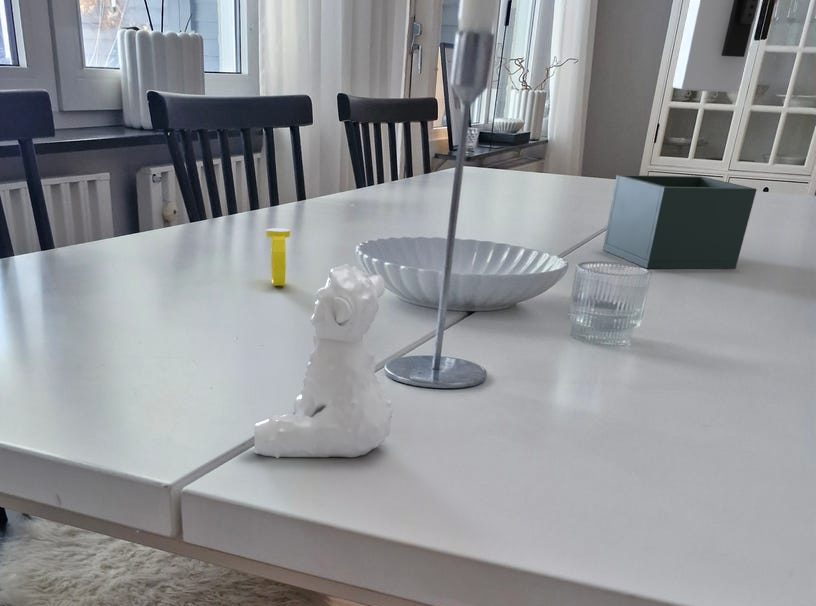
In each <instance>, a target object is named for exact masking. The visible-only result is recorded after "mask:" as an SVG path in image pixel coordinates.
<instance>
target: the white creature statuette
mask: <svg viewBox="0 0 816 606" xmlns="http://www.w3.org/2000/svg"><path fill="white" fill-rule="evenodd" d="M327 276H328V278H327V281H326V284H325V286H324V287H321V288H319V289H317V291H316V292H315V294H316V297H317V301H315V303H314V305H315V307H314V308H313V314H312V315H311V317H310V322H311V325H312V326H313V327H314V332H315V335H314V336H313V338H312V341H313V345H314V346H313V347H314V350H313V351H312V352H311V353H310V356H309V359H308V363H307V365H306V370H305V373H304V375H305V378H304V379H303V383H302V384H303V385H302V389H301V390H300V395H299V396H297V397H296V398H295V401H294V403H293V411H294V413H291V412H290V413H287V414H284V415H277V414H271V415H270V416H269V418H268V419H266V420H262V421H260V422H258V423H255V424H254V430H253V431H254V433H253V434H254V436H253V437H254V442H253V443H254V454H255V455H261V456H265V457H274V458H276V459H279V458H283V457H285V458H330V457H334V458H357V457H360V456H364V455H366V454H369V453H370V452H371V451H372V450H373V449H376V448H377V447H379V446H380V445H382V444H383V443H385V439H386V438H387V437H389V435H390V434H391V422H392V417H393V416H392V414H393V412H394V410H393V408H392V407H391V405H392V401H391V400H390V399H388V398H387V397H386V394H385V391H384V390H383V389H382V387H381V385H380V382H379V380H378V378H377V376H376V368H377V363H376V362H375V354H374V352H373V350H372V349H371V344H370V343H369V342H368V341H367V339H366V338H365V337H364V335H366V334H367V333H368V331H369V329H370V327H371V326H372V324H373V323H374V322H375V320H376V317H377V314H378V311H379V298H381V297H382V296H383V295H384V293H385V291H386V285H385V279H384V277H383V276H382V275H381V274H374V275H371V276H369V274H368V273H366V272H364V271H362V270H360V269H359V268H358V267H357V266H355V265H353V266H351V265H350V264H349V263H344V264H343V265H341V266H336V267H333V268H331V269H330V272H329V273H328V275H327Z"/></svg>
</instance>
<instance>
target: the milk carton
mask: <svg viewBox="0 0 816 606" xmlns="http://www.w3.org/2000/svg"><path fill="white" fill-rule="evenodd" d="M733 3H734V0H689V3H688V7H687V13H686V18H685V23H684V27H683V33H682V37H681V42H680V47H679V52H678V57H677V62H676V65H675V66H676V67H675V71H674V76H673V81H672V89H673V88H674V89H677V90H683V91H694V92H716V93H717V92H719V93H725V92H726V93H729V92H730V93H731V92H739V90H740V86H741V82H742V77H743V73H744V71H745V70H744V69H745V65H746V61H747V57H748V53H749V49H750V44H751V40H752V36H753V32H754V28H755V24H756V20H757V15H758V12H759V7H760V3H761V0H758V4H757V8H756V12H755V17H754V20H753V22H752V26H751V30H750V34H749V38H748V42H747V47H746V51H745V55H744V57H733V56H721V55H722V51H723V47H724V42H725V38H726V33H727V29H728V25H729V20H730V16H731V12H732V7H733Z"/></svg>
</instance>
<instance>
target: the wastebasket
mask: <svg viewBox="0 0 816 606" xmlns="http://www.w3.org/2000/svg"><path fill="white" fill-rule="evenodd" d="M613 188H614V189H613V193H612V198H611V205H610V209H609V215H608V219H607V226H606V231H605V236H604V240H603V241H604V242H603V247H602V251H604V252H606V253H609V254H612V255H614V256H616V257H619V258H621V259H623V260H626V261H628V262H630V263H632V264H635V265H637V266H639V267H642V268H645V269H647V268H648V269H647V270H649V269H650V270H651V269H652V270H655V269H656V270H658V269H659V270H665V269H667V270H668V269H673V270H675V269H677V270H678V269H681V270H682V269H689V270H690V269H693V270H695V269H698V270H699V269H736V268H737V265H738V261H739V257H740V254H741V250H742V246H743V243H744V238H745V234H746V231H747V227H748V225H749V224H748V223H749V220H750V217H751V212H752V209H753V205H754V201H755V197H756V193H757V191H758V188H756V187H755V188H754V187H752V186H751V187H750V186H746V185H743V184H737V183H732V182H728V181H724V180H720V179H714V178H711V177H706V176H698V175H697V176H696V175H695V176H693V175H692V176H691V175H690V176H689V175H687V176H686V175H645V174H644V175H639V174H636V175H635V174H616V176H615V182H614V187H613Z"/></svg>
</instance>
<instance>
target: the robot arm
mask: <svg viewBox="0 0 816 606" xmlns="http://www.w3.org/2000/svg"><path fill="white" fill-rule="evenodd" d="M757 4H758V0H734V3H733V7H732V12H731V16H730V20H729V25H728V29H727V33H726V38H725V42H724V47H723V51H722V55H721V56H733V57H744V55H745V51H746V47H747V42H748V38H749V34H750V30H751V26H752V22H753V20H754V17H755V12H756V8H757Z"/></svg>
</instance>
